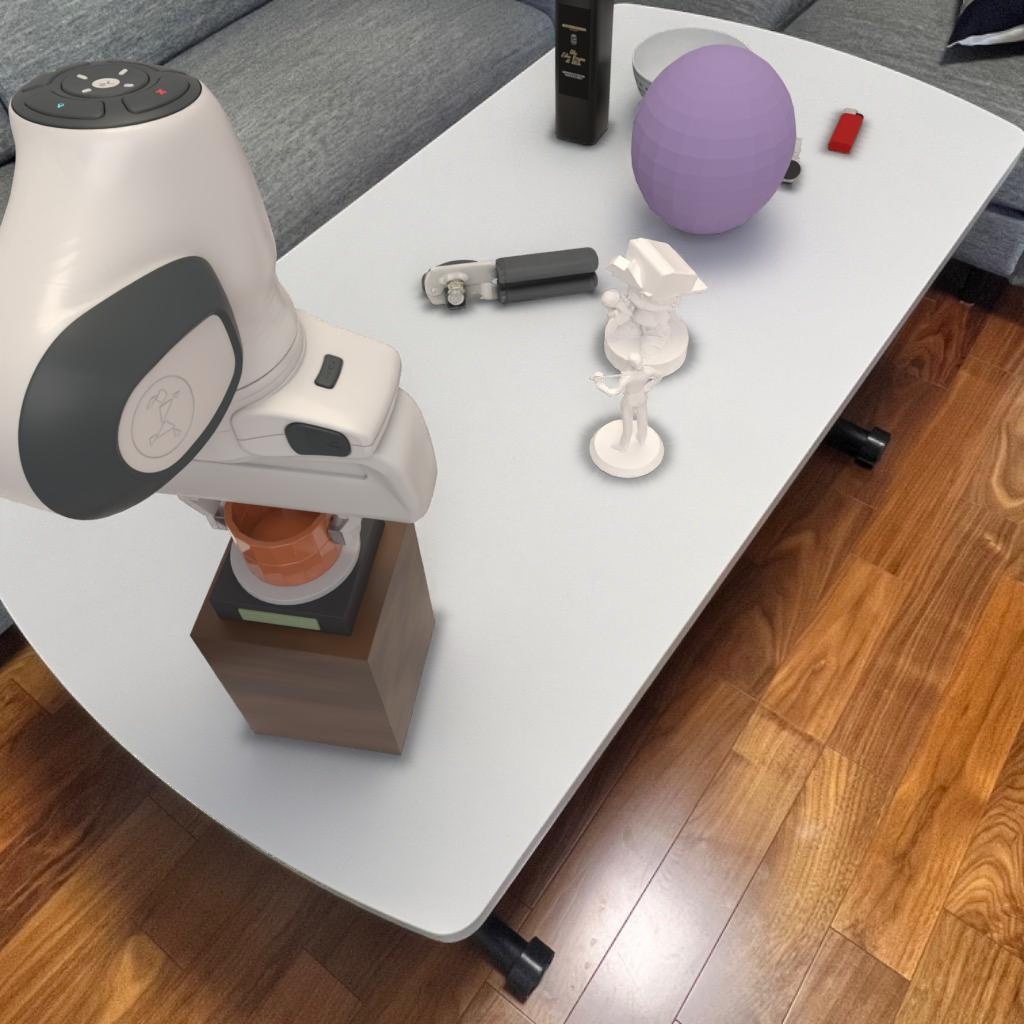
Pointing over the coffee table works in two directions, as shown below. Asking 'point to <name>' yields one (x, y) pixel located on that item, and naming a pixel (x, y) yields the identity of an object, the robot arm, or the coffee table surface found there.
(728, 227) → the purple ovoid
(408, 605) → the wooden block
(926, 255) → the coffee table surface
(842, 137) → the lighter
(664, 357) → the character figurine
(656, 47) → the chinaware
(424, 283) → the can opener
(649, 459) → the figurine
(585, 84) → the black tall square bottle
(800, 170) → the wristwatch
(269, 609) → the scale
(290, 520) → the bowl
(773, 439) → the coffee table surface
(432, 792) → the coffee table surface
